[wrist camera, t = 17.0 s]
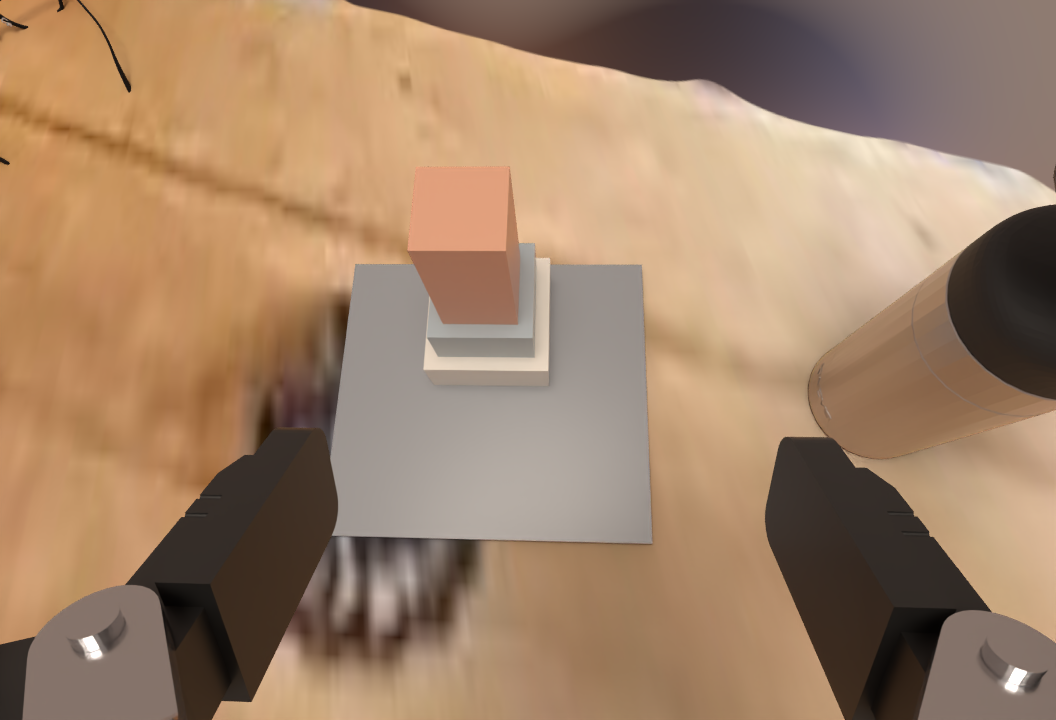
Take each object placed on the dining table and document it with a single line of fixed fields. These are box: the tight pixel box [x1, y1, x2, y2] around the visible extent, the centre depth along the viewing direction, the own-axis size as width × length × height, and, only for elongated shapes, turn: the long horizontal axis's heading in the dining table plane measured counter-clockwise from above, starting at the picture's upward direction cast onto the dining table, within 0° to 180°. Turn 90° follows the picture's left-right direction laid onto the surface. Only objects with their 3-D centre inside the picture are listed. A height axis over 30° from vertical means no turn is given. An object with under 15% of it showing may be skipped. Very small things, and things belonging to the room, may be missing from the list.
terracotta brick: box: [407, 167, 520, 325], centre depth 36 cm, size 5×5×10 cm
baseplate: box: [330, 264, 652, 544], centre depth 47 cm, size 24×22×1 cm
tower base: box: [423, 243, 550, 386], centre depth 44 cm, size 9×9×8 cm
